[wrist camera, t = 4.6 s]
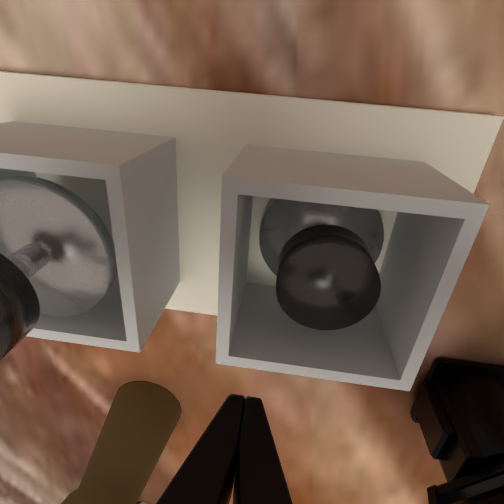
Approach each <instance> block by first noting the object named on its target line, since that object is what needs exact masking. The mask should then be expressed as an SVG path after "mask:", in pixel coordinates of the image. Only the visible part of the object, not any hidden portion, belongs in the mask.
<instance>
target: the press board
mask: <svg viewBox="0 0 504 504" xmlns="http://www.w3.org/2000/svg"><path fill="white" fill-rule="evenodd" d="M503 119H504V117H502V116H497V115H490V114H479V113H468V112H457V111H445V110H434V109H423V108H411V107H400V106H389V105H378V104H366V103H355V102H344V101H333V100H321V99H310V98H299V97H288V96H276V95H265V94H254V93H243V92H231V91H220V90H209V89H198V88H186V87H175V86H164V85H153V84H141V83H130V82H119V81H108V80H96V79H85V78H74V77H62V76H51V75H40V74H29V73H17V72H6V71H0V180H1V179H4V178H8V177H13V176H33V177H38V178H42V179H46V180H49V181H52V182H54V183H57V184H59V185H61V186H63V187H65V188H66V189H68V190H70V191H72V192H73V193H74V194H76V195H77V196H79V197H80V198H81V199H82V200H84V201H85V202H86V203H87V204H88V205H89V206H90V207H91V208H92V209H93V210H94V211H95V212H96V213H97V214H98V216H99V217H100V218H101V220H102V221H103V222H104V224H105V226H106V227H107V229H108V231H109V233H110V235H111V237H112V239H113V242H114V248H115V255H116V263H117V274H116V278H115V281H114V283H113V285H112V287H111V288H110V290H109V291H108V292H107V293H106V295H105V296H104V297H103V298H102V299H101V300H100V301H99V302H98V303H97V304H96V305H95V306H94V307H93V308H91V309H90V310H88V311H86V312H84V313H81V314H77V315H73V316H50V315H45V314H41V313H40V316H39V320H38V322H37V324H36V326H35V327H34V328H33V329H32V330H31V331H30V332H29V333H28V334H27V335H26V336H29V337H36V338H43V339H50V340H57V341H64V342H71V343H78V344H84V345H91V346H98V347H105V348H112V349H119V350H126V351H133V352H140V351H141V350H142V348H143V346H144V344H145V343H146V341H147V339H148V337H149V335H150V334H151V332H152V330H153V328H154V327H155V325H156V323H157V321H158V320H159V318H160V316H161V314H162V313H163V311H164V309H173V310H180V311H188V312H195V313H203V314H210V315H217V341H216V364H223V365H230V366H237V367H244V368H251V369H258V370H265V371H272V372H279V373H286V374H293V375H299V376H306V377H313V378H320V379H327V380H334V381H341V382H348V383H355V384H362V385H369V386H376V387H383V388H390V389H397V390H403V391H410V390H411V387H412V385H413V383H414V380H415V378H416V376H417V373H418V371H419V369H420V366H421V364H422V362H423V359H424V357H425V355H426V352H427V350H428V348H429V345H430V343H431V341H432V338H433V336H434V334H435V331H436V329H437V327H438V324H439V322H440V320H441V317H442V315H443V313H444V310H445V308H446V306H447V303H448V301H449V299H450V296H451V294H452V292H453V289H454V287H455V285H456V282H457V280H458V278H459V275H460V273H461V271H462V268H463V266H464V264H465V261H466V259H467V257H468V254H469V252H470V250H471V248H472V245H473V243H474V241H475V238H476V236H477V234H478V231H479V229H480V227H481V224H482V222H483V220H484V217H485V215H486V213H487V210H488V208H489V206H490V204H488V203H487V202H485V201H483V200H482V199H480V198H479V197H477V196H476V195H474V191H475V189H476V186H477V184H478V181H479V179H480V176H481V174H482V171H483V169H484V166H485V164H486V161H487V159H488V156H489V154H490V151H491V149H492V146H493V144H494V141H495V139H496V136H497V134H498V131H499V129H500V126H501V124H502V121H503ZM274 198H276V199H286V200H295V201H304V202H313V203H322V204H331V205H340V206H350V207H359V208H368V209H377V210H378V211H379V214H380V216H381V218H382V222H383V227H384V242H383V246H382V250H381V252H380V255H379V257H378V259H377V261H376V262H375V265H376V268H377V270H378V273H379V276H380V279H381V292H380V297H379V299H378V302H377V304H376V305H375V307H374V308H373V310H372V311H371V312H370V313H369V314H368V315H367V316H366V317H365V318H364V319H362V320H361V321H359V322H358V323H356V324H354V325H351V326H349V327H346V328H342V329H338V330H317V329H312V328H308V327H305V326H303V325H301V324H299V323H297V322H295V321H294V320H293V319H291V318H290V317H289V316H288V315H287V314H286V313H285V312H284V311H283V309H282V308H281V306H280V304H279V302H278V299H277V296H276V278H277V276H276V275H275V274H274V273H273V272H272V271H271V270H270V269H269V267H268V266H267V264H266V263H265V261H264V259H263V256H262V254H261V250H260V244H259V232H260V226H261V222H262V219H263V216H264V213H265V211H266V209H267V207H268V205H269V204H270V202H271V201H272V200H273V199H274Z"/></svg>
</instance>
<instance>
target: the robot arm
mask: <svg viewBox="0 0 504 504" xmlns="http://www.w3.org/2000/svg"><path fill="white" fill-rule="evenodd" d="M441 365H443V366H441ZM411 417H412V420H413V421H414V422H417V423H419V424H420V427H421V430H422V432H423V435H424V438H425V441H426V444H427V446H428V449H429V452H430V455H431V456H432V457H433V459H436V460H439V461H440V464H441V467H442V469H443V472H444V475H445V478H446V480H447V482H446V483H444V484H441V485H438V486H436V485H433V486H431V487H428V488H427V493H428V501H429V504H504V366H497V365H489V364H482V363H475V362H467V361H460V360H453V359H445V358H439V359H437V360H435V361H434V363H433V365H432V367H431V369H430V372H429V374H428V376H427V378H426V381H425V382H424V383H423V384H422V387H421V389H420V391H419V393H418V395H417V398H416V400H415V402H414V404H413V409H412V412H411ZM235 470H236V471H235ZM234 478H235V480H234ZM233 483H234V489H233ZM232 489H233V504H293V503H292V500H291V497H290V493H289V490H288V487H287V483H286V480H285V477H284V473H283V470H282V467H281V463H280V460H279V456H278V453H277V450H276V446H275V443H274V440H273V436H272V433H271V430H270V426H269V423H268V420H267V416H266V413H265V410H264V406H263V403H262V400H261V399H260V398H256V397H249V396H248V397H246V398H245V397H244V396H243V395H236V394H230V395H229V396H228V397H227V399H226V400H225V402H224V403H223V405H222V406H221V408H220V409H219V411H218V412H217V414H216V415H215V416H214V418H213V419H212V421H211V422H210V424H209V425H208V427H207V428H206V430H205V431H204V433H203V434H202V436H201V437H200V439H199V440H198V442H197V443H196V445H195V446H194V448H193V449H192V451H191V452H190V454H189V455H188V457H187V458H186V460H185V461H184V463H183V464H182V466H181V467H180V469H179V470H178V472H177V473H176V475H175V476H174V478H173V479H172V481H171V482H170V484H169V485H168V487H167V488H166V490H165V491H164V493H163V494H162V496H161V497H160V499H159V500H158V502H157V503H156V504H229V502H230V498H231V494H232Z"/></svg>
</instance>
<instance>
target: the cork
mask: <svg viewBox="0 0 504 504" xmlns="http://www.w3.org/2000/svg"><path fill="white" fill-rule="evenodd" d="M180 414H181V407H180V403H179V402H178V400H177V399H176V397H175V396H174V395H173V394H172V393H170V392H169V391H168V390H167V389H165V388H163V387H161V386H159V385H157V384H153V383H150V382H144V381H134V382H130V383H126V384H125V385H123V386H121V387H120V388H119V390H118V391H117V393H116V395H115V398H114V401H113V403H112V406H111V408H110V411H109V413H108V416H107V418H106V421H105V423H104V426H103V428H102V431H101V433H100V436H99V438H98V441H97V443H96V446H95V448H94V451H93V453H92V456H91V458H90V461H89V463H88V466H87V468H86V471H85V473H84V476H83V478H82V481H81V483H80V486H79V488H78V489H77V490H75V491H74V492H72V493H71V494H69V495H68V497H67V498H66V499H65V500H64V501H63V503H62V504H136V503H137V501H138V499H139V497H140V495H141V493H142V491H143V489H144V487H145V485H146V483H147V481H148V479H149V477H150V475H151V473H152V471H153V469H154V467H155V466H156V464H157V462H158V460H159V458H160V456H161V454H162V452H163V450H164V448H165V446H166V444H167V442H168V440H169V438H170V436H171V434H172V432H173V430H174V428H175V426H176V424H177V422H178V420H179V418H180Z"/></svg>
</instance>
